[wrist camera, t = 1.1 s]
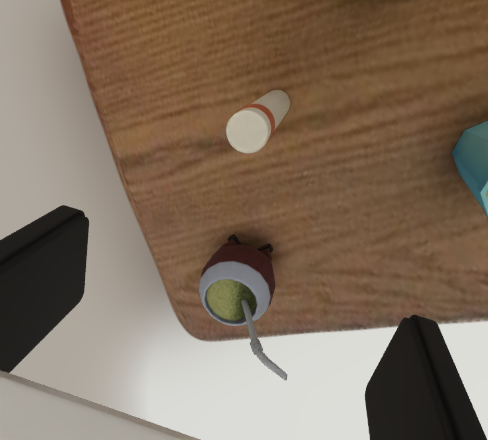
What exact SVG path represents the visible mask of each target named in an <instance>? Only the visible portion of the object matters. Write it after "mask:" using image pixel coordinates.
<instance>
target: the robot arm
mask: <svg viewBox="0 0 488 440" xmlns="http://www.w3.org/2000/svg"><path fill="white" fill-rule="evenodd" d="M88 229H89V220H88V218H87V217H85V215H84V212H83V211H81V210H78V209H75V208H71V207H68V206H64V205H63V206H60V207H58V208H56V209H55V210H53V211H51V212H49V213H48V214H46V215H44V216H42V217H41V218H39V219H37V220H35V221H34V222H32V223H30V224H28V225H26V226H25V227H23V228H21V229H19V230H18V231H16V232H14V233H12V234H11V235H9V236H7V237H5V238H4V239H2V240H0V440H199V439H196V438H193V437H191V436H188V435H185V434H182V433H179V432H176V431H174V430H171V429H168V428H165V427H162V426H159V425H156V424H154V423H151V422H148V421H145V420H142V419H140V418H137V417H134V416H131V415H128V414H125V413H123V412H120V411H116V410H114V409H111V408H108V407H105V406H102V405H99V404H97V403H94V402H91V401H88V400H85V399H82V398H79V397H76V396H73V395H71V394H68V393H65V392H62V391H59V390H56V389H53V388H50V387H47V386H45V385H41V384H39V383H35V382H33V381H30V380H27V379H24V378H21V377H18V376H16V375H12V374H9V373H10V372H11V371H12V370H13V369H14V368H15V367H16V366H17V365H18V363H20V362H21V361H22V359H24V358H25V357H26V356H27V355H28V353H29V352H30V351H31V350H32V349H33V348H34V347H35V346H36V345H37V344H38V343H39V342H40V341H41V340H42V339H43V338H44V337H45V336H46V335H47V334H48V333H49V332H50V331H51V330H52V329H53V328H54V327H55V326H56V325H57V324H58V323H59V322H60V321H61V320H62V319H63V318H64V317H65V316H66V315H67V314H68V313H69V312H70V311H71V310H72V309H73V308H74V307H75V306H76V305H77V304H78V303H79V302H80V300H81V299H82V297H83V294H84V286H85V272H86V256H87V243H88ZM365 401H366V410H367V418H368V426H369V434H370V440H487V438H486V436H485V434H484V431H483V429H482V427H481V424H480V422H479V420H478V417H477V415H476V413H475V410H474V408H473V406H472V403H471V401H470V399H469V396H468V394H467V392H466V390H465V387H464V385H463V383H462V380H461V378H460V376H459V373H458V371H457V369H456V366H455V364H454V362H453V359H452V357H451V355H450V352H449V350H448V348H447V345H446V343H445V341H444V338H443V336H442V334H441V331H440V329H439V327H438V324H437V323H436V322H435V321H433V320H430V319H426V318H423V317H420V316H417V315H412V316H411V317H410V318H404V319H403V320H402V321H401V323H400V325H399V326H398V328H397V330H396V332H395V334H394V336H393V338H392V340H391V341H390V343H389V345H388V347H387V349H386V351H385V353H384V354H383V357H382V358H381V360H380V362H379V364H378V366H377V368H376V369H375V371H374V373H373V375H372V377H371V379H370V381H369V383H368V385H367V387H366V391H365Z"/></svg>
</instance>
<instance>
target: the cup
mask: <svg viewBox="0 0 488 440" xmlns="http://www.w3.org/2000/svg"><path fill="white" fill-rule="evenodd" d="M452 155H453V158H454V161H455V164H456V167H457V169H458V172H459V175H460V176H461V177H462V179H463V180H464V182H465V183H466V185H467V186H468V188H469V189H470V190H471V192H472V193H473V195H474V196H475V198H476V199H477V201H478V202H479V204H480V205H481V206H482V208H483V209H484V211H485V213H486V216H487V219H488V121H485V122H483V123H481V124H478V125H476V126H473V127H471V128H469V129H466V130H464V132H463V134H462V136H461V137H460V139H459V141H458V143H457V144H456V146H455V148H454V150H453V152H452Z"/></svg>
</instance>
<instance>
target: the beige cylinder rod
mask: <svg viewBox="0 0 488 440" xmlns="http://www.w3.org/2000/svg"><path fill="white" fill-rule="evenodd" d="M289 108H290V99H289V97H288V95H287V94H286V93H285V92H283V91H281V90H272V91H270V92H269V93H267V94H265V95H264V96H262V97H261V98H259V99H258V100H256V101H254V102H253V103H251V104H249V105H247V106H245V107H243V108H242V109H240V110H239V111H237V112H236V113H235V114H234V115H233V116H232V117H231V118H230V120H229V122H228V124H227V128H226V134H227V138H228V141H229V143H230V144H231V145H232V147H233V148H235V149H236V150H238V151H240V152H242V153H254V152H257V151H258V150H260V149H261V148H262V147H263V146H264V145H265V144H266V143H267V142H268V141H269V139H270V138H271V136H272V135H273V133H274V131H275V129H276V128H277V126H278V125H279V123H280V122H281V121H282V119H283V118H284V116H285V115H286V113H287V112H288V110H289Z"/></svg>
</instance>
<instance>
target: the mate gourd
mask: <svg viewBox="0 0 488 440" xmlns="http://www.w3.org/2000/svg"><path fill="white" fill-rule="evenodd" d="M228 240H229V242H227V243H225V244H224V245H222V247H221V248H220V249H219V250H218V251H217V252H216V253H215V254H214V255H213V256H212V258H211V259H210V260H209V262H208V263H207V264H206V266H205V267H204V268H203V271H202V274H201V279H200V285H199V294H200V297H201V301H202V304H203V306H204V308H205V309H206V310H207V311H208V313H209V314H210V315H211V317H213V318H214V319H216V320H217V321H219V322H220V323H223V324H227V325H230V326H238V325H245V324H247V326H248V330H249V334H250V339H251V343H250V345H251V348H252V351H253V353H254V354H255V355H257V357H258V358H259V359H260V360H261V361H262V363H263V364H264V365H266V366H267V367H268V368H269V369H271V370H272V371H274V372H275V373H276V374H277V375H279V376H280V377H281V378H283V379H284V380H287V374H286V373H285V372H284V371H283V370H281V369H280V368H279V367H278V366H277V365H276V364H274V363H273V362H272V361H271V360H270V359H269V358H268V357H267V356H266V355H265V354H264V353H263V352H262V351H263V349H262V346H261V344H260V341H259V339H258V338H257V334H256V331H255V327H254V323H253V321H255V320H257V319H259V318H260V317H261V316H262V315H263V314H264V312H265V311H266V310H267V309H268V307H269V305H270V304H271V300H272V297H273V293H274V290H275V279H274V274H273V268H272V264H271V254H270V253H271V252H272V251H273V247H272V246H271V244H267V245H265V246H263V247H261V248H259V249H255V248H253V247H249V246H245V245H242V244H241V243H240V241H239V240H238V238H237V237H236V236H235V235H232V236H230V237H229V238H228Z"/></svg>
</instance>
